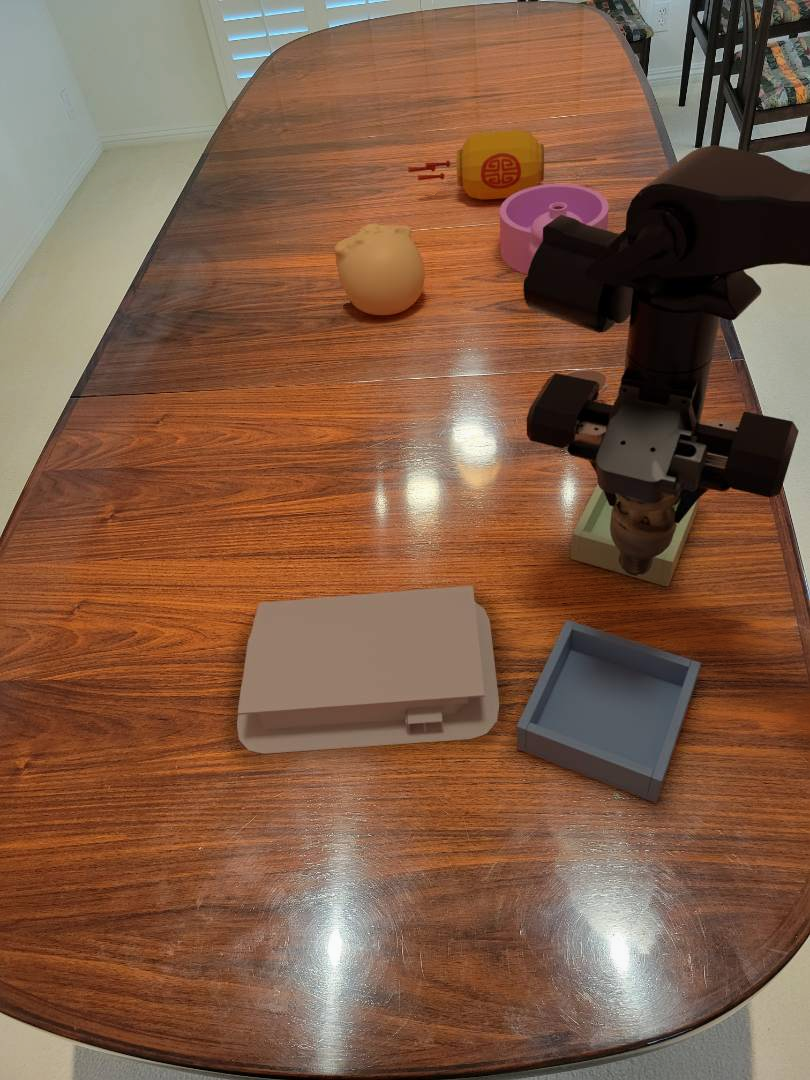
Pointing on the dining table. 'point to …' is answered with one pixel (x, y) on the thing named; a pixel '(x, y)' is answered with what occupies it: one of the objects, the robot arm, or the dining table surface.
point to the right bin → (601, 551)
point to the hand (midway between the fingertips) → (645, 510)
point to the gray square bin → (609, 709)
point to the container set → (544, 218)
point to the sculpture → (381, 269)
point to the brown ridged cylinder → (642, 530)
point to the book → (368, 671)
